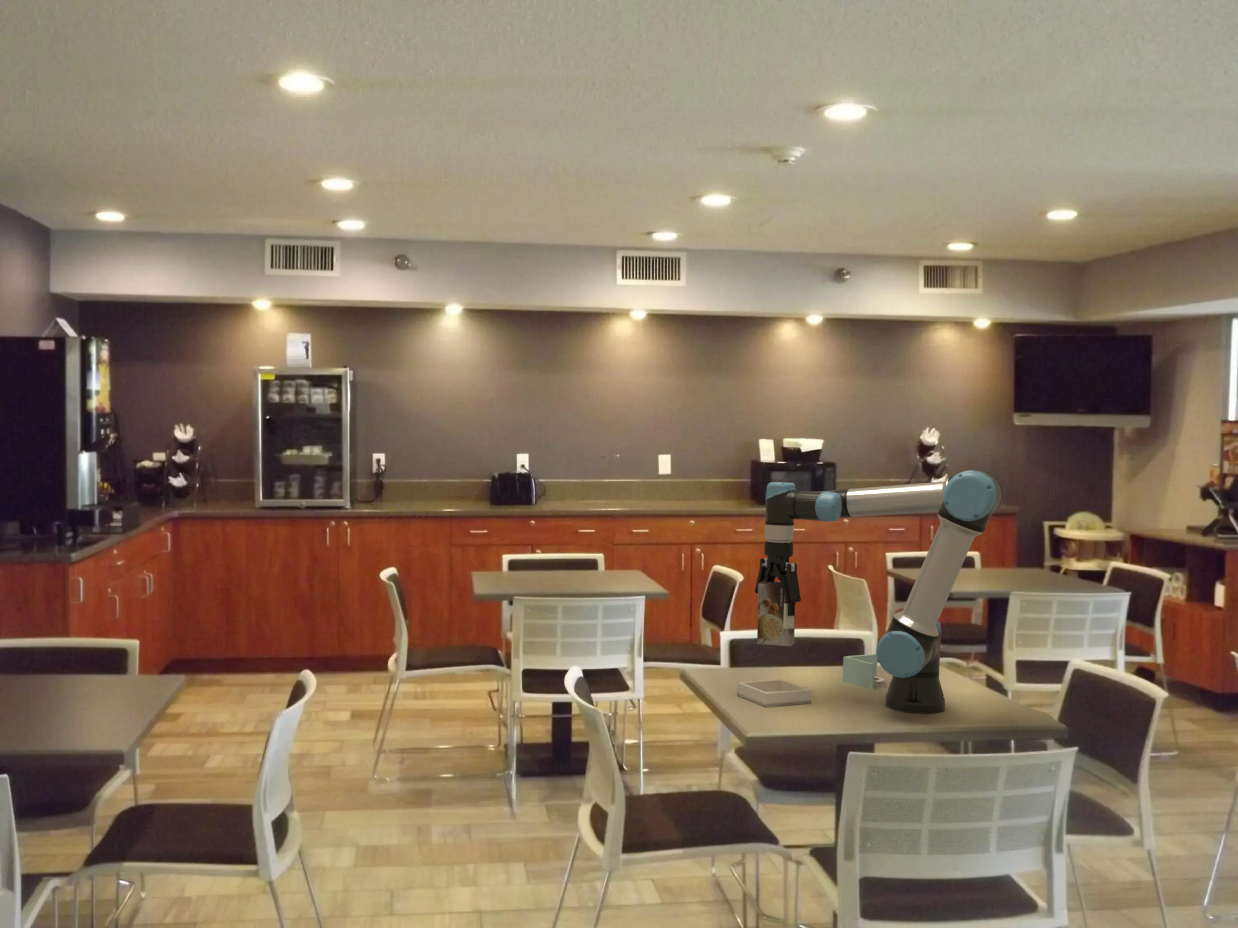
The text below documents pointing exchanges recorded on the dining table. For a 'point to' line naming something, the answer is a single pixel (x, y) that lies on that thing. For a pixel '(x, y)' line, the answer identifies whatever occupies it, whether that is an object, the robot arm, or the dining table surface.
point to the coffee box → (772, 616)
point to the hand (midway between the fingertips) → (776, 624)
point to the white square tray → (774, 693)
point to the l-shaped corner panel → (862, 670)
